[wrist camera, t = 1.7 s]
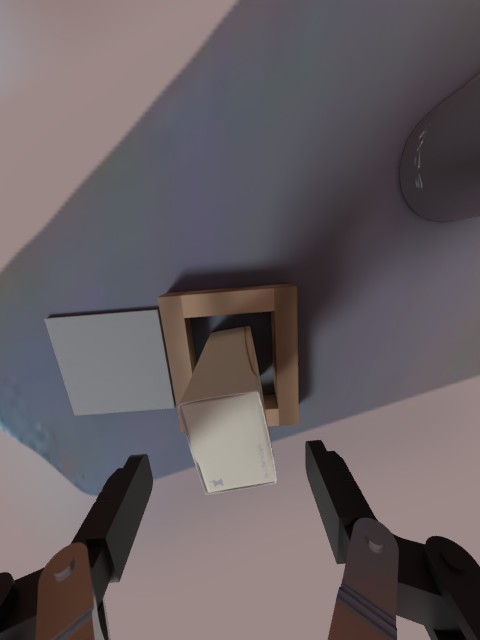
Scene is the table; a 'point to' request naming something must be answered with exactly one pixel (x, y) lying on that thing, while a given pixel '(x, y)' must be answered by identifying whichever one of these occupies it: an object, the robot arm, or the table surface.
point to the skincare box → (228, 415)
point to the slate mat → (113, 361)
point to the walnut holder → (237, 301)
